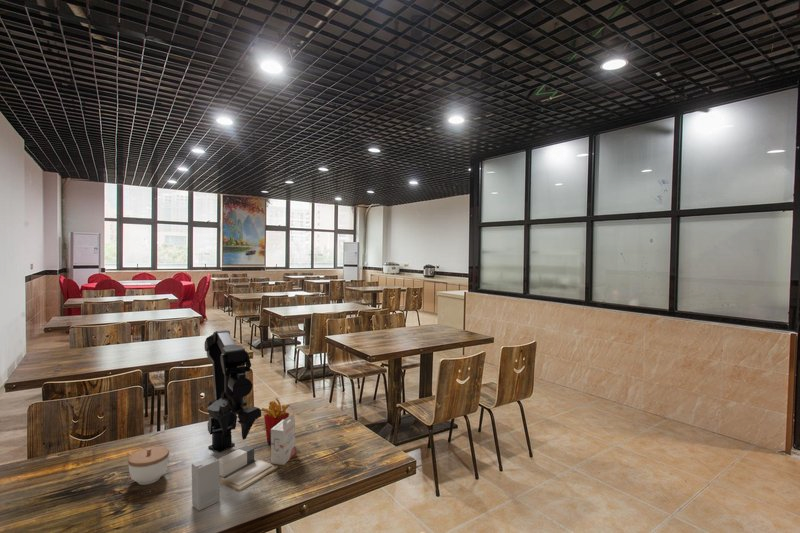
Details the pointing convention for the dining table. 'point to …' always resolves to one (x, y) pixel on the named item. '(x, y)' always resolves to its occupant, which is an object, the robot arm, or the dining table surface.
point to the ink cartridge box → (283, 441)
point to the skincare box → (205, 482)
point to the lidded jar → (148, 464)
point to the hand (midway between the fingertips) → (234, 435)
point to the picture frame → (247, 474)
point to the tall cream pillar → (235, 460)
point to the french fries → (274, 416)
